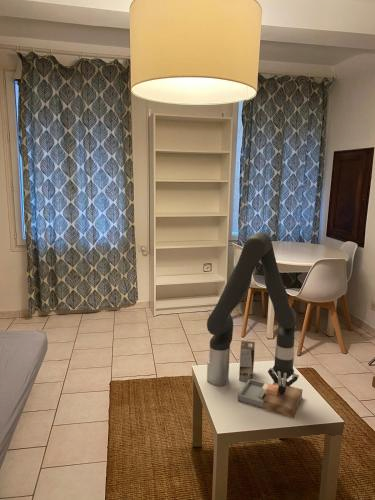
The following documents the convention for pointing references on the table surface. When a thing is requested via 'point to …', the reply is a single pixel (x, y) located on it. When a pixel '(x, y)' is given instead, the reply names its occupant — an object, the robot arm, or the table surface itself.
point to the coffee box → (246, 360)
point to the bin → (252, 393)
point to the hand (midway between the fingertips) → (281, 393)
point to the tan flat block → (283, 401)
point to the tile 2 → (272, 389)
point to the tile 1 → (263, 390)
